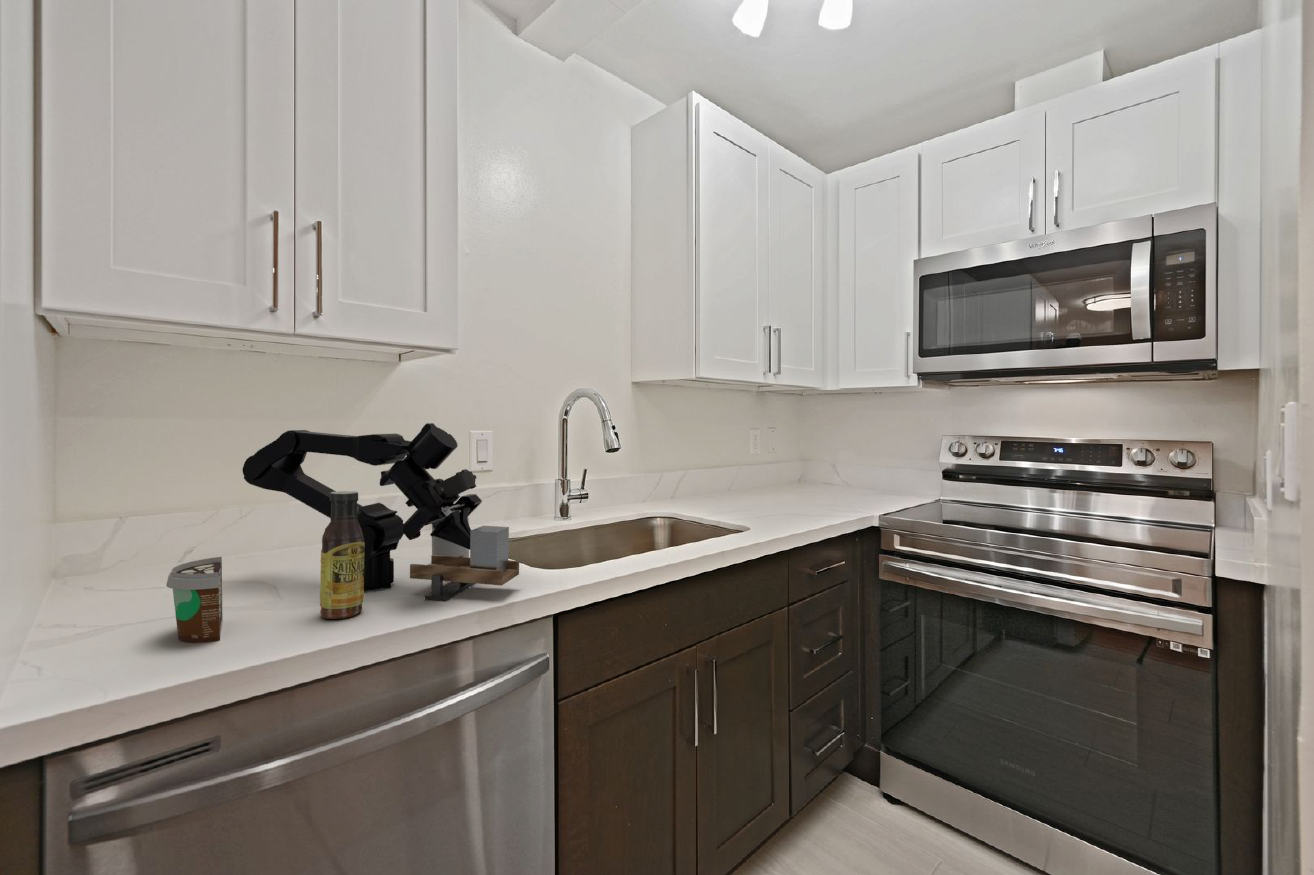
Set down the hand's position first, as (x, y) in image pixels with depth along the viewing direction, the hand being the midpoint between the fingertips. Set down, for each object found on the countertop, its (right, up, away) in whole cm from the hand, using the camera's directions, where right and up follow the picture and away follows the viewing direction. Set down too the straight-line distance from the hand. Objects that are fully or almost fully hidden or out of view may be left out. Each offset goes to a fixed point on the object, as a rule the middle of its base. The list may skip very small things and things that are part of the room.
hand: (475, 548), depth 105 cm
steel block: (+3, -4, 0) cm, 5 cm away
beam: (-2, -5, 0) cm, 6 cm away
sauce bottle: (-18, -9, -12) cm, 23 cm away
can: (-11, -8, +19) cm, 24 cm away
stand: (-5, -8, +1) cm, 9 cm away
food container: (-35, -9, -21) cm, 41 cm away
